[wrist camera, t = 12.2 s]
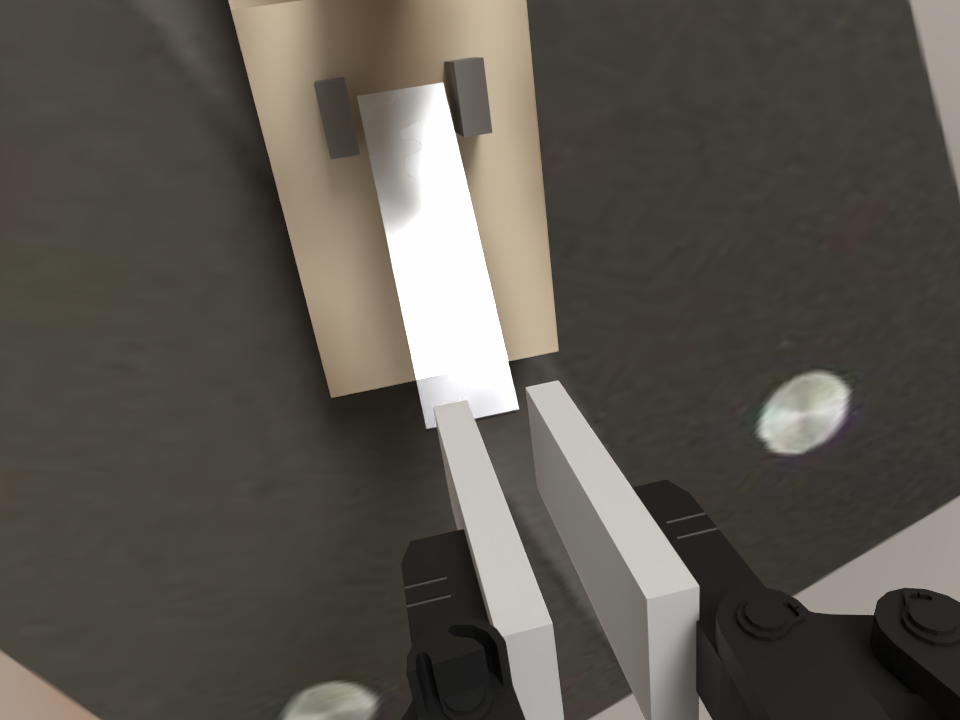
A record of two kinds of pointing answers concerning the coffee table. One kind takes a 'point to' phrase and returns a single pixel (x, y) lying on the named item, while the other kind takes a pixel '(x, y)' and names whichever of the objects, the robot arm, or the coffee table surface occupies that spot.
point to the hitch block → (348, 174)
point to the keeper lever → (436, 253)
